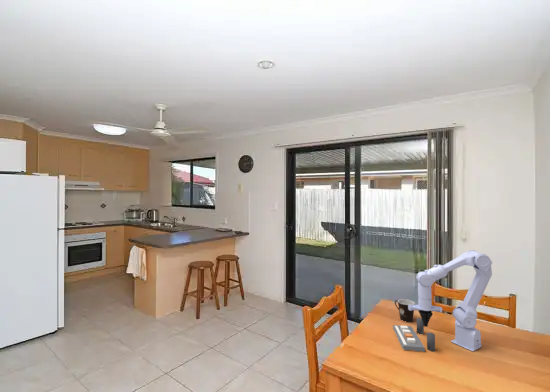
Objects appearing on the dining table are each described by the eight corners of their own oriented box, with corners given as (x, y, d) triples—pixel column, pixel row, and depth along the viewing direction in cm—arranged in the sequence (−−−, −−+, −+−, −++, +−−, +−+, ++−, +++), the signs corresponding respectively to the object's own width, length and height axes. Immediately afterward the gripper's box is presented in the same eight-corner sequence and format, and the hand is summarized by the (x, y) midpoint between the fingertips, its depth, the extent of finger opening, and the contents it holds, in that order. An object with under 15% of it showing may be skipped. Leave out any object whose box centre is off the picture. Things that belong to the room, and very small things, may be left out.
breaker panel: (393, 328, 145) (393, 322, 145) (411, 330, 144) (411, 323, 144) (403, 350, 126) (403, 342, 126) (424, 351, 124) (424, 344, 124)
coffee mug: (418, 323, 151) (417, 305, 151) (402, 323, 151) (401, 305, 151) (408, 313, 163) (407, 297, 163) (393, 314, 163) (393, 297, 163)
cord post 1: (425, 333, 140) (425, 319, 140) (421, 335, 138) (421, 321, 138) (419, 331, 143) (419, 317, 143) (415, 332, 141) (415, 318, 141)
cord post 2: (436, 350, 125) (436, 334, 125) (432, 352, 124) (432, 336, 124) (429, 346, 128) (429, 331, 128) (425, 348, 126) (425, 333, 126)
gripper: (437, 295, 136) (438, 322, 136) (406, 293, 138) (406, 320, 138) (443, 300, 129) (444, 329, 129) (410, 299, 131) (411, 327, 131)
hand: (425, 325), depth 133 cm, fingers closed
